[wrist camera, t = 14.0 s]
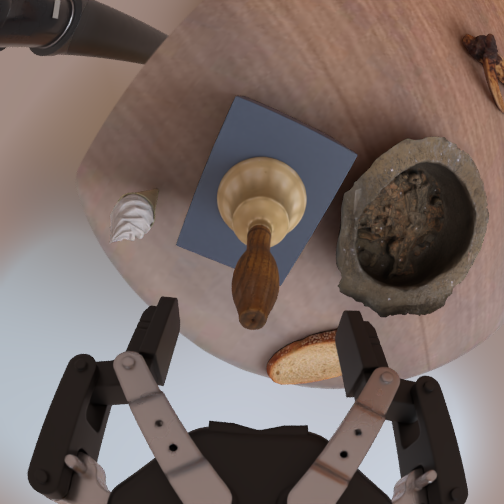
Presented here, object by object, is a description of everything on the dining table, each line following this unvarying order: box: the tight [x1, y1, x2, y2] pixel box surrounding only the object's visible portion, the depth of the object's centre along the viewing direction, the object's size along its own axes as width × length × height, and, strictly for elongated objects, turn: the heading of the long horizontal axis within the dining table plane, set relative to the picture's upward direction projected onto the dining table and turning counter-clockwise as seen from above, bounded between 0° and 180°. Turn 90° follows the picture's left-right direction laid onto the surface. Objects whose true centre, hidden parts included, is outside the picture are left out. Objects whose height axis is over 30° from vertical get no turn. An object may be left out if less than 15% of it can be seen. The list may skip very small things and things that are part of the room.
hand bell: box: [217, 157, 307, 330], centre depth 20 cm, size 8×8×16 cm
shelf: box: [176, 96, 357, 286], centre depth 32 cm, size 12×16×11 cm
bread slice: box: [267, 330, 342, 385], centre depth 52 cm, size 18×18×4 cm
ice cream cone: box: [110, 189, 159, 243], centre depth 32 cm, size 5×5×15 cm
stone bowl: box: [336, 137, 489, 317], centre depth 35 cm, size 25×25×9 cm
